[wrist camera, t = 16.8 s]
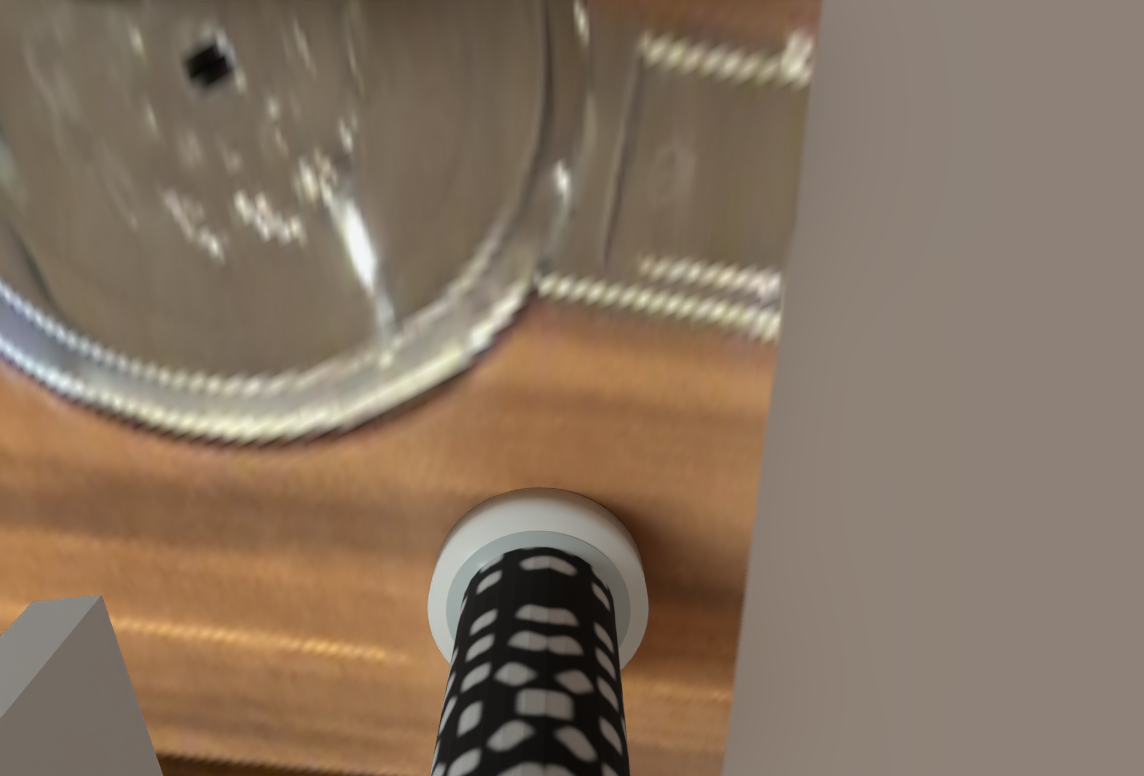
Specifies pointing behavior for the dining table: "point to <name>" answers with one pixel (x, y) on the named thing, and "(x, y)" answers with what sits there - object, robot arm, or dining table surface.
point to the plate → (540, 524)
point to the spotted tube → (534, 673)
